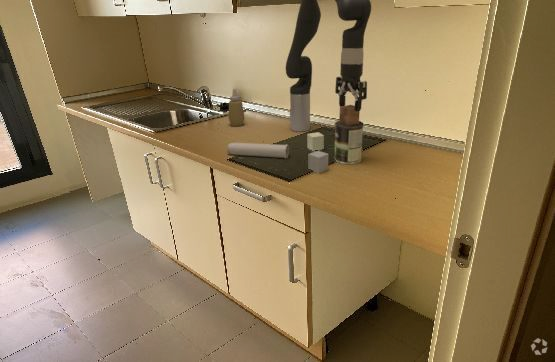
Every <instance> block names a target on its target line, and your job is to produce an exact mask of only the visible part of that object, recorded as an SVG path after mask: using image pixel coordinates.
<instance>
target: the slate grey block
mask: <svg viewBox="0 0 555 362" xmlns="http://www.w3.org/2000/svg"><path fill="white" fill-rule="evenodd" d="M307 160H308V161H307V166H308V168H307V169H311V170H313V171H314V173H315V174H321V173H324V172H325V171H328V170H329V153H326V152H323V151H322V150H318V151H312V152H310V153H308V159H307ZM313 171H312V172H313Z"/></svg>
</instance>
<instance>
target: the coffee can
mask: <svg viewBox="0 0 555 362" xmlns="http://www.w3.org/2000/svg"><path fill="white" fill-rule="evenodd" d="M363 131H364V122H363V121H361V120H359V124H355V125H350V126H347V125H344V124H341V123H339V120H337V121H335V123H334V154H333V155H334V156H333V160H334V159H335V160H336V161H335V160H334V161H335V162H336V163H338V164H340V165H341V164H342V165H354V164H355V165H356V164H358V163H360V162H361V161H362V149H363V147H362V146H363V135H364V133H363Z"/></svg>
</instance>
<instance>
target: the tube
mask: <svg viewBox="0 0 555 362" xmlns="http://www.w3.org/2000/svg"><path fill="white" fill-rule="evenodd" d="M226 147H227V150H226V152H227V153H228V154H229V155H232V156H248V157H258V158H259V157H262V158H263V157H264V158H275V159H276V158H277V159H279V158H280V159H288V157H289V153H290V147H289V144H273V143H271V144H270V143H252V142H250V143H249V142H233V141H232V142H231V143H229V144H227V146H226Z"/></svg>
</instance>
